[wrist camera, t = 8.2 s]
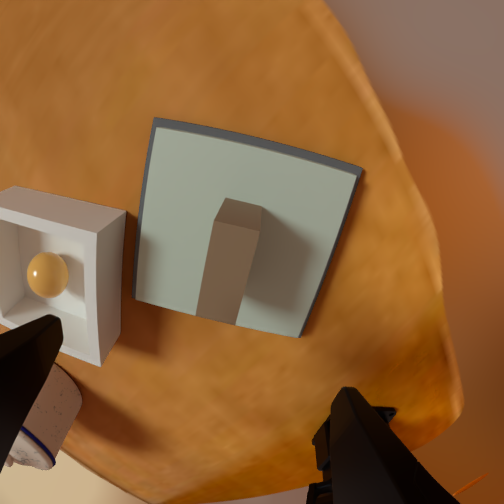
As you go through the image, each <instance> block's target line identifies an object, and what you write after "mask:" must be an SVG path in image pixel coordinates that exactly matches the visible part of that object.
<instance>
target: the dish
mask: <svg viewBox="0 0 504 504" xmlns="http://www.w3.org/2000/svg"><path fill="white" fill-rule="evenodd" d="M125 220H126V211H125V210H120V209H116V208H112V207H107V206H103V205H99V204H94V203H90V202H85V201H81V200H77V199H72V198H68V197H63V196H59V195H54V194H50V193H46V192H41V191H37V190H32V189H27V188H23V187H18V186H13V187H11V188H8V189H6V190H4V191H1V192H0V323H1V324H2V325H4V326H6V327H8V328H10V329H14V328H16V327H19V326H21V325H23V324H26V323H28V322H30V321H33V320H35V319H38V318H40V317H42V316H45V315H47V314H52V315H55V316H57V317H59V318H60V319H61V323H62V330H63V337H64V339H63V343H62V346H61V348H60V350H59V351H61V352H63V353H65V354H68V355H70V356H73V357H75V358H78V359H81V360H83V361H86V362H88V363H91V364H94V365H97V366H99V367H101V366H102V364H103V363H104V361H105V359H106V357H107V356H108V354H109V352H110V351H111V349H112V347H113V345H114V344H115V342H116V340H117V339H118V337H119V335H120V334H121V280H122V259H123V244H124V231H125Z"/></svg>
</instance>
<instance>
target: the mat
mask: <svg viewBox="0 0 504 504" xmlns="http://www.w3.org/2000/svg"><path fill="white" fill-rule="evenodd" d="M156 127H165V128H170V129H176V130H182V131H187V132H193V133H198V134H203V135H208V136H213V137H218V138H222V139H227V140H232V141H236V142H240V143H245V144H249V145H253V146H258V147H262V148H266V149H270V150H274V151H277V152H281V153H285V154H289V155H293V156H296V157H300V158H304V159H307V160H311V161H314V162H318V163H321V164H324V165H328V166H331V167H334V168H338V169H341V170H344V171H347V172H350V173H353V174H355V175H356V176H357V177H356V180H355V183H354V186H353V189H352V193H351V196H350V199H349V202H348V205H347V208H346V211H345V214H344V217H343V220H342V223H341V226H340V228H339V231H338V234H337V237H336V240H335V243H334V246H333V248H332V251H331V254H330V257H329V259H328V262H327V265H326V268H325V270H324V273H323V276H322V278H321V281H320V284H319V286H318V289H317V291H316V294H315V297H314V299H313V302H312V304H311V307H310V309H309V312H308V314H307V317H306V319H305V322H304V324H303V327H302V329H301V331H300V334H299V336H298V338H301V336H302V333H303V331H304V328H305V326H306V324H307V321H308V319H309V316H310V314H311V311H312V309H313V307H314V304H315V302H316V299H317V297H318V294H319V291H320V289H321V286H322V284H323V281H324V279H325V276H326V273H327V271H328V268H329V265H330V263H331V260H332V257H333V255H334V252H335V249H336V246H337V244H338V241H339V238H340V235H341V232H342V230H343V227H344V224H345V221H346V218H347V215H348V212H349V209H350V206H351V203H352V200H353V197H354V194H355V191H356V188H357V185H358V182H359V179H360V175H361V172H362V169H363V168H361V167H359V166H356V165H353V164H349V163H346V162H343V161H340V160H337V159H334V158H330V157H327V156H324V155H321V154H317V153H314V152H310V151H307V150H303V149H300V148H296V147H293V146H289V145H285V144H281V143H278V142H274V141H270V140H266V139H262V138H258V137H253V136H249V135H245V134H241V133H236V132H232V131H227V130H222V129H218V128H213V127H208V126H203V125H197V124H192V123H187V122H181V121H175V120H169V119H163V118H157V117H154V120H153V125H152V130H151V135H150V141H149V146H148V152H147V158H146V164H145V170H144V177H143V184H142V191H141V199H140V207H139V215H138V224H137V234H136V244H135V256H134V269H133V285H132V298H135V299H136V283H137V268H138V256H139V245H140V235H141V226H142V217H143V209H144V201H145V193H146V186H147V179H148V173H149V166H150V160H151V154H152V148H153V143H154V137H155V132H156Z"/></svg>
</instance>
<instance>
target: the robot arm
mask: <svg viewBox="0 0 504 504" xmlns="http://www.w3.org/2000/svg"><path fill="white" fill-rule="evenodd" d="M63 339H64V337H63V330H62V323H61V319H60V318H59V317H57V316H55V315H52V314H47V315H45V316H42V317H40V318H38V319H35V320H33V321H30V322H28V323H26V324H23V325H21V326H19V327H16V328H14V329H12V330H9V331H7V332H5V333H2V334H0V473H1V471H2V468H3V466H4V464H5V461H6V459H7V457H8V455H9V452H10V450H11V448H12V446H13V444H14V442H15V440H16V437H17V435H18V433H19V431H20V429H21V427H22V425H23V423H24V421H25V419H26V417H27V415H28V413H29V411H30V410H31V408H32V406H33V404H34V402H35V400H36V398H37V396H38V395H39V393H40V391H41V389H42V387H43V386H44V384H45V382H46V380H47V378H48V375H49V373H50V371H51V368H52V366H53V364H54V361H55V359H56V357H57V355H58V352H59V350H60V348H61V346H62V343H63ZM395 415H396V410H395V409H394V408H377V407H371V405H370V404H369V403H368V402H367V401H366V399H365V398H364V397H363V396H362V395H361V394H360V392H359V391H358V390H357V389H356V388H354V387H346V386H345V387H342V388H341V390H340V391H339V393H338V394H337V396H336V397H335V399H334V400H333V402H332V405H331V414H330V415H329V417H328V418H327V420H326V421H325V422H324V423H323V424H322V426H321V427H320V429H319V430H318V431H317V433H316V434H315V435H314V438H313V439H312V445H315V451H316V461H317V469H318V470H319V471H322V473H323V482H319V483H312V484H309V491H308V493H307V501H306V504H460V503H459V502H458V501H457V500H456V499H455V498H454V497H453V496H452V495H451V494H450V493H448V492H447V491H446V490H445V489H444V488H443V487H442V486H441V485H440V484H439V483H438V482H437V481H436V480H435V479H434V478H433V477H432V476H431V475H430V474H429V473H428V471H427V470H426V469H425V468H424V467H423V466H422V465H421V464H420V462H417V459H416V458H415V457H414V456H413V454H412V453H411V452H410V451H409V450H408V449H407V447H406V446H405V445H404V444H403V443H402V442H401V440H400V439H399V438H398V437H397V436H396V435H395V433H394V432H393V431H392V430H391V429H390V427H389V424H388V423H389V422H390V421H391V420H392V418H393V417H394V416H395Z"/></svg>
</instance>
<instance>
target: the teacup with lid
mask: <svg viewBox="0 0 504 504" xmlns="http://www.w3.org/2000/svg"><path fill="white" fill-rule="evenodd" d="M81 406H82V397H81V394H80V391H79V389H78V387H77V386H76V384H75V383H74V382H73V380H72V379H71V378H70V377H69V376H68V375H67V374H66V373H65V372H64V371H63V370H62V369H61V368H60V367H58V366H57V365H56V364H55V363H54V364H53V366H52V368H51V371H50V373H49V375H48V378H47V380H46V382H45V384H44V386H43V387H42V389H41V391H40V393H39V395H38V396H37V398H36V400H35V402H34V404H33V406H32V408H31V410H30V411H29V413H28V415H27V417H26V419H25V421H24V423H23V425H22V427H21V429H20V431H19V433H18V435H17V437H16V440H15V442H14V444H13V446H12V448H11V450H10V452H9V455H8V457H7V459H6V461H5V464H4V465H5V466H8V467H11V466H12V465H13V462H15V463H18V464H21V465H27V466H32V467H35V468H38V469H41V470H49V469H51V468H52V467H53V466H54V465H55V463H56V461H55V458H56V456H57V454H58V451H59V449H60V447H61V445H62V443H63V441H64V439H65V437H66V435H67V433H68V431H69V429H70V427H71V425H72V423H73V421H74V419H75V418H76V416H77V414H78V412H79V410H80V408H81Z"/></svg>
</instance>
